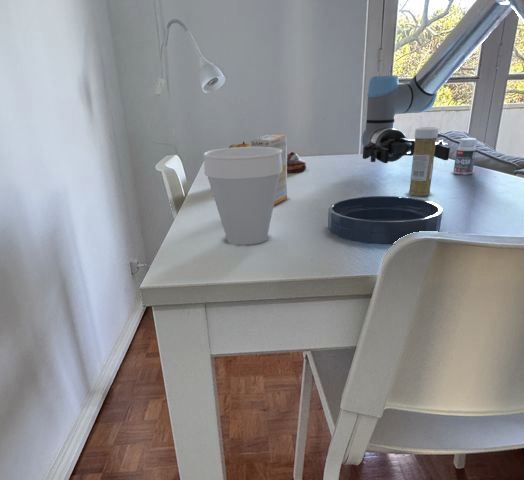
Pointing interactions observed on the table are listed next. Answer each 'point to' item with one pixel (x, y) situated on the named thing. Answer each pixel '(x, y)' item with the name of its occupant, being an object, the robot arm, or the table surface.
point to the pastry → (295, 163)
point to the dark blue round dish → (382, 218)
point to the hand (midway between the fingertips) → (417, 155)
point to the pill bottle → (465, 156)
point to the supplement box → (281, 143)
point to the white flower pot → (244, 189)
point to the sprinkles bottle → (423, 160)
